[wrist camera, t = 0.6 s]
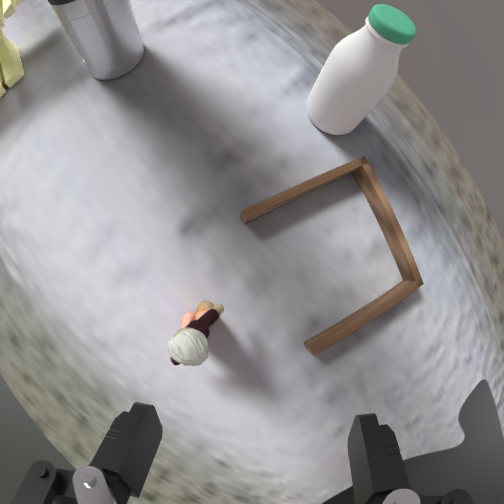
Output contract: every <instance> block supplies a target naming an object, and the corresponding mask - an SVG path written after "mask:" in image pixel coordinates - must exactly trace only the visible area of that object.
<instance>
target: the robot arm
mask: <svg viewBox="0 0 504 504" xmlns="http://www.w3.org/2000/svg"><path fill="white" fill-rule="evenodd" d="M48 2H49V3H50V5H51V7H52V9H53V10H54V12H55V14H56V16H57V17H58V19H59V21H60V22H61V24H62V26H63V27H64V29H65V31H66V32H67V34H68V36H69V38H70V39H71V41H72V43H73V44H74V46H75V48H76V49H77V51H78V53H79V54H80V56H81V57H82V59H83V61H84V63H85V64H86V66H87V67H88V69H89V71H90V72H91V74H92V75H93V76H94V77H95V78H97V79H100V80H110V79H114V78H118V77H120V76H122V75H124V74H126V73H128V72H129V71H131V70H132V69H133V68H134V67H135V66H136V65H137V64H138V63H139V62H140V61H141V59H142V57H143V55H144V46H143V43H142V40H141V37H140V34H139V30H138V27H137V24H136V21H135V17H134V14H133V11H132V8H131V4H130V1H129V0H48ZM162 432H163V431H162V425H161V423H160V420H159V418H158V415H157V412H156V410H155V407H154V406H153V405H149V404H144V403H139V402H136V403H134V404H133V406H132V408H131V410H130V412H125V411H124V412H122V413H121V414H120V415H119V416H118V417H116V418H115V420H114V421H113V423H112V425H111V427H110V430H108V432H107V434H106V437H105V438H104V440H103V441H102V443H101V445H100V447H99V449H98V451H97V453H96V454H95V456H94V458H93V460H92V462H91V463H90V464H89V465H88V466H84V467H81V468H79V469H78V470H77V471H71V470H62V469H56V468H55V467H54V466H53V465H52V464H51V463H50V462H48V461H45V460H40V461H37V462H35V463H33V464H32V466H31V467H30V469H29V471H28V472H27V474H26V476H25V478H24V480H23V481H22V483H21V486H20V487H19V489H18V491H17V493H16V495H15V497H14V499H13V501H12V503H11V504H129V503H128V499H129V497H130V495H131V496H134V497H137V498H139V496H140V493H141V491H142V488H143V485H144V483H145V480H146V478H147V475H148V472H149V470H150V467H151V464H152V462H153V459H154V457H155V454H156V452H157V449H158V446H159V444H160V441H161V439H162ZM348 454H349V460H350V468H351V475H352V482H353V490H354V499H355V504H473V502H472V499H471V496H470V495H469V494H468V493H467V492H466V491H464V490H459V489H457V490H452V491H450V492H448V493H447V494H446V495H445V496H422V495H419V494H417V493H415V492H414V491H413V490H412V489H411V488H410V486H409V483H408V479H407V475H406V472H405V468H404V464H403V460H402V457H401V454H400V450H399V446H398V443H397V439H396V436H395V433H394V432H393V431H392V430H391V428H390V427H389V426H388V425H387V424H386V425H379V423H378V420H377V416H376V414H374V413H373V414H364V415H356V417H355V419H354V422H353V425H352V428H351V431H350V434H349V437H348Z"/></svg>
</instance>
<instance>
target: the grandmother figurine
mask: <svg viewBox="0 0 504 504" xmlns="http://www.w3.org/2000/svg"><path fill="white" fill-rule="evenodd" d="M223 311H224V307H223V305H222V304H216V305H215V306H213V305H212V303H211V302H209V301H203V302H201V303H200V304H199V305H198V307H197V312H193V311H189V312H187V313H185V314H184V316H183V318H182V323H181V329H180V330H179V331H177V332H176V334H175V335H174V337H173V338H172V339H171V340H170V341H169V342H168V351H169V354H170V356H171V357H170V360H171V362H172V363H173V364H174V365H179V364H180V363H181V364H184V365H191V366H197V365H200V364H202V363H203V362H204V361H205V360H206V359H207V358H208V352H207V349H208V341H207V339H208V336H209V328H210V326H211V325H213V323H214V322H215V321H216V320H217V319H218V318H219V316H220V315H221V313H223Z"/></svg>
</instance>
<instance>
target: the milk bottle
mask: <svg viewBox="0 0 504 504" xmlns="http://www.w3.org/2000/svg"><path fill="white" fill-rule="evenodd" d="M416 33H417V30H416V27H415V25H414V23H413V22H412V21H411V20H410V19H409V17H407V16H406V15H405V14H404V13H402V12H401V11H399V10H398V9H396V8H394V7H391V6H389V5H385V4H377V5H375V6H374V7H373V8H372V10H371V11H370V13H369V16H368V17H367V18H366V25H365V26H364V27H363V28H361V29H360V30H358V31H357V32H355V33H353V34H351V35H349V36H347V37H345V38H344V39H342V40H341V41H340V42H339V43H338V44H337V45H336V46H335V47H334V49H333V50H332V52H331V54H330V55H329V57H328V59H327V61H326V63H325V64H324V66H323V68H322V70H321V72H320V74H319V76H318V78H317V80H316V82H315V84H314V86H313V88H312V90H311V93H310V95H309V97H308V99H307V102H306V110H307V113H308V116H309V118H310V120H311V121H312V122H313V124H314V125H315V126H316V127H317V128H319V129H320V130H322V131H324V132H326V133H328V134H332V135H344V134H347V133H349V132H351V131H352V130H353V129H354V128H355V127H356V126H357V125H358V124H359V123H360V122H361V121H362V120H363V119H364V118H365V117H366V115H367V114H368V113H369V112H370V111H371V110H372V109H373V108H374V107H375V105H376V104H377V103H378V102H379V101H380V100H381V99H382V97H383V96H384V95H385V94H386V93H387V91H388V90H389V89H390V87H391V86H392V84H393V82H394V80H395V78H396V75H397V70H398V59H399V55H400V52H401V49H402V48H405V47H407V46H408V43H410V42H411V41H412V40H413V38H414V37H415V36H416Z"/></svg>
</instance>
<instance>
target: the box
mask: <svg viewBox="0 0 504 504" xmlns="http://www.w3.org/2000/svg"><path fill="white" fill-rule="evenodd" d="M352 173H353V174H354V176H355V177H356V179H357V181H358V183H359V185H360V187H361V189H362V191H363V193H364V194H365V196H366V198H367V200H368V202H369V204H370V206H371V208H372V210H373V212H374V215H375V217H376V219H377V221H378V223H379V225H380V227H381V229H382V231H383V234H384V236H385V238H386V240H387V242H388V245H389V247H390V249H391V252H392V254H393V256H394V259H395V261H396V263H397V266H398V268H399V271H400V273H401V276H402V278H403V281H402V282H401V283H399V284H398V285H396V286H395V287H393V288H392V289H390V290H389V291H387V292H386V293H384V294H383V295H381V296H380V297H378V298H377V299H375V300H374V301H372V302H371V303H369V304H367V305H366V306H364V307H363V308H361V309H360V310H358V311H356V312H355V313H353V314H352V315H350V316H348V317H347V318H345V319H343V320H342V321H340V322H338V323H337V324H335V325H333V326H332V327H330V328H328V329H327V330H325V331H323V332H321V333H320V334H318V335H316V336H314V337H313V338H311V339H309V340H307V341H305V342H304V344H305V346H306V348H307V350H309V351H310V352H311V353H312V354H313V355H316V354H318V353H319V352H321V351H323V350H325V349H326V348H328V347H330V346H331V345H333V344H335V343H336V342H338V341H340V340H341V339H343V338H345V337H346V336H348V335H350V334H351V333H353V332H354V331H356V330H358V329H359V328H361V327H362V326H364V325H365V324H367V323H368V322H370V321H372V320H373V319H375V318H376V317H378V316H379V315H381V314H382V313H384V312H385V311H386V310H388V309H389V308H391V307H392V306H394V305H395V304H397V303H398V302H399V301H401V300H402V299H404V298H405V297H406V296H408V295H409V294H411V293H412V292H413V291H415V290H416V289H417V288H419V287H420V286H421V285H423V281H422V278H421V276H420V273H419V270H418V268H417V265H416V263H415V260H414V258H413V255H412V253H411V250H410V248H409V246H408V243H407V241H406V239H405V236H404V234H403V232H402V229H401V227H400V225H399V223H398V221H397V218H396V216H395V214H394V212H393V210H392V208H391V206H390V204H389V202H388V200H387V198H386V196H385V194H384V192H383V190H382V188H381V186H380V184H379V182H378V180H377V178H376V176H375V174H374V172H373V171H372V169H371V167H370V165H369V163H368V162H367V160H366V158H365V156H363V157H361V158H358V159H356V160H354V161H351V162H349V163H347V164H344V165H342V166H340V167H337V168H335V169H333V170H331V171H328V172H326V173H324V174H321V175H319V176H317V177H315V178H312V179H310V180H308V181H306V182H303V183H301V184H299V185H297V186H295V187H292V188H290V189H288V190H286V191H284V192H281V193H279V194H277V195H275V196H273V197H271V198H268V199H266V200H264V201H262V202H260V203H258V204H256V205H253V206H251V207H249V208H247V209H245V210H243V211H242V212H241V218H242V220H243V222H244V224H245V223H247V222H249V221H251V220H253V219H255V218H257V217H259V216H261V215H263V214H265V213H267V212H270V211H272V210H274V209H276V208H278V207H280V206H282V205H284V204H286V203H289V202H291V201H293V200H295V199H297V198H299V197H301V196H303V195H306V194H308V193H310V192H312V191H314V190H316V189H319V188H321V187H323V186H325V185H327V184H329V183H332V182H334V181H336V180H338V179H340V178H343V177H345V176H347V175H349V174H352Z"/></svg>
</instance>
